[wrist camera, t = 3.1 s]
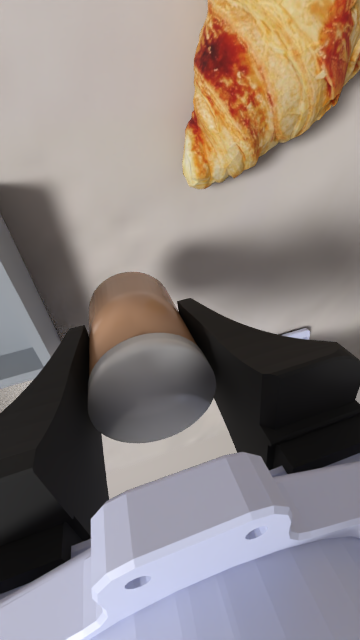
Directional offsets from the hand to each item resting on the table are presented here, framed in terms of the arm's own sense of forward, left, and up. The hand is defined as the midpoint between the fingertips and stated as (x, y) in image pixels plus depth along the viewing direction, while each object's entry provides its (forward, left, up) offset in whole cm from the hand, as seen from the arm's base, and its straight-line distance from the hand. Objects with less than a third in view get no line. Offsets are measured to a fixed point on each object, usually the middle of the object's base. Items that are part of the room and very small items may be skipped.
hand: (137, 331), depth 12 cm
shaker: (0, 0, -2) cm, 2 cm away
